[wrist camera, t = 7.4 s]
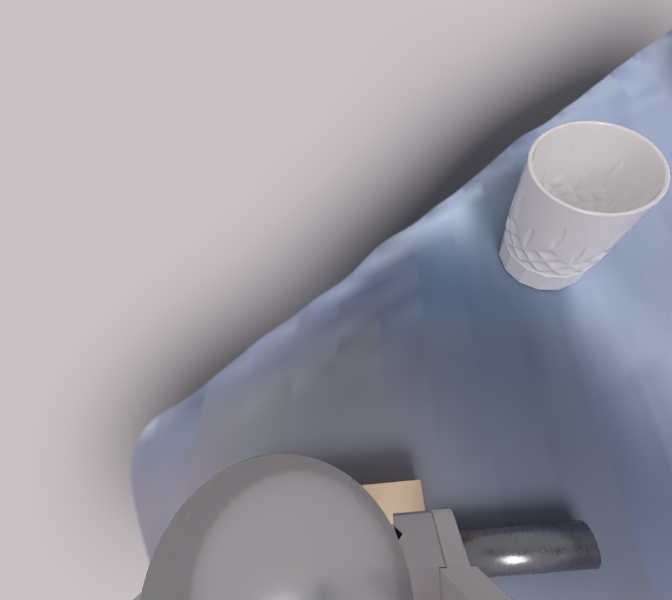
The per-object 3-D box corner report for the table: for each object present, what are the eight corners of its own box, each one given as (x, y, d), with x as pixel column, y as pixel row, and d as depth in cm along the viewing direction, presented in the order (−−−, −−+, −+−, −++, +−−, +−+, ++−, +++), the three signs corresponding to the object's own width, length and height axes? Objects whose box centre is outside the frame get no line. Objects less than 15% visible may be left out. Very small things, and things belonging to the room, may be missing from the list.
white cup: (479, 226, 35) (510, 132, 26) (570, 211, 35) (631, 110, 26) (509, 305, 31) (557, 226, 23) (611, 288, 31) (699, 201, 22)
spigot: (386, 485, 17) (394, 444, 7) (399, 601, 15) (439, 802, 5) (293, 492, 17) (158, 463, 7) (295, 607, 16) (111, 813, 5)
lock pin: (604, 555, 21) (595, 576, 23) (580, 511, 23) (573, 532, 25) (453, 568, 22) (452, 587, 23) (443, 523, 24) (442, 543, 25)
